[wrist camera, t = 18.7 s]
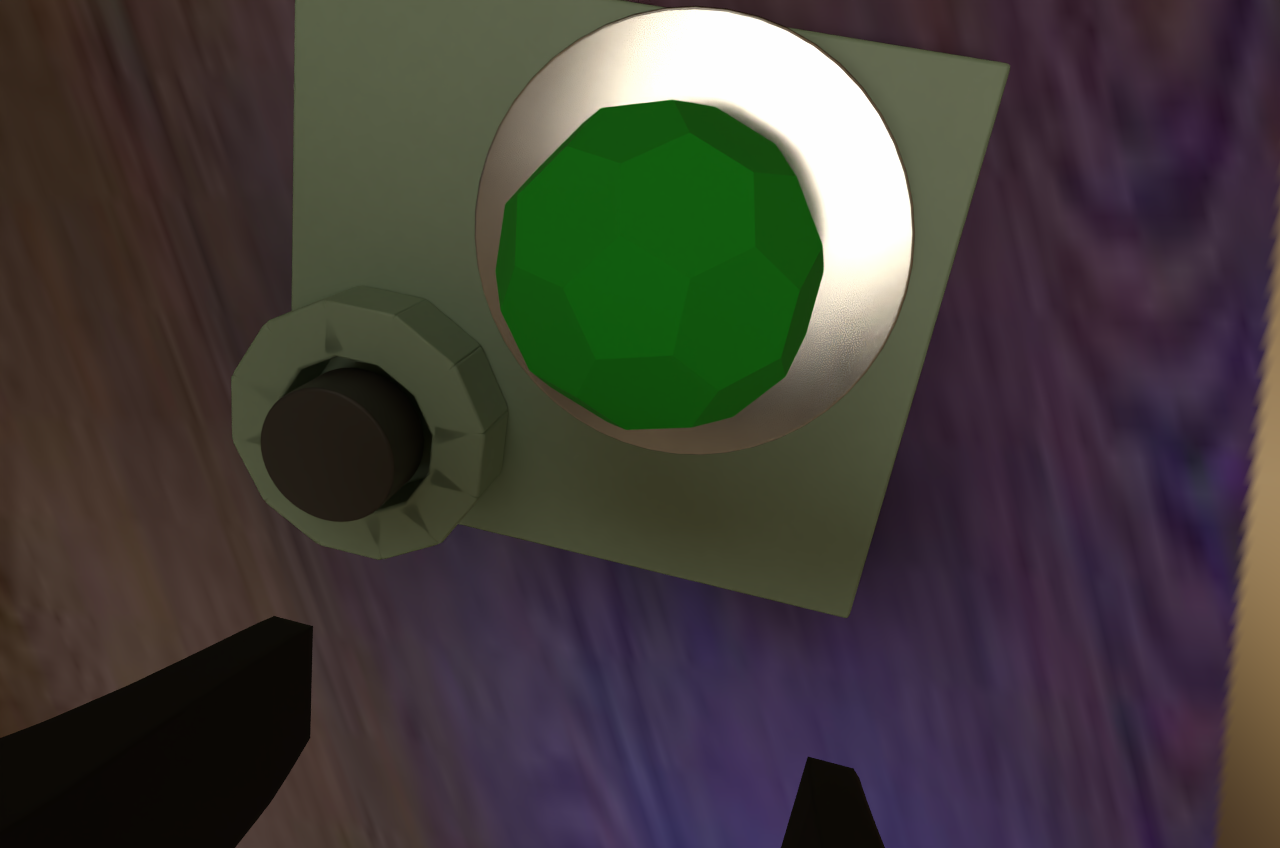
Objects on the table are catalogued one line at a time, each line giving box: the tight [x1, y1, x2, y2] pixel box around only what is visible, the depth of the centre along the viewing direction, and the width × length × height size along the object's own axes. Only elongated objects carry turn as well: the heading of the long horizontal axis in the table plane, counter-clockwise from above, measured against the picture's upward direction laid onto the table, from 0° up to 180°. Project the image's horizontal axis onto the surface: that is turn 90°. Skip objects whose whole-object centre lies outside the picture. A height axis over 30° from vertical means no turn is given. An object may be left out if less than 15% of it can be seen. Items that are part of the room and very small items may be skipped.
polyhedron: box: [495, 99, 824, 430], centre depth 14 cm, size 5×5×5 cm
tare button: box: [261, 368, 424, 522], centre depth 19 cm, size 3×3×2 cm
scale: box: [231, 0, 1010, 618], centre depth 19 cm, size 14×12×4 cm
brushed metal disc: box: [475, 6, 915, 455], centre depth 16 cm, size 8×8×1 cm
